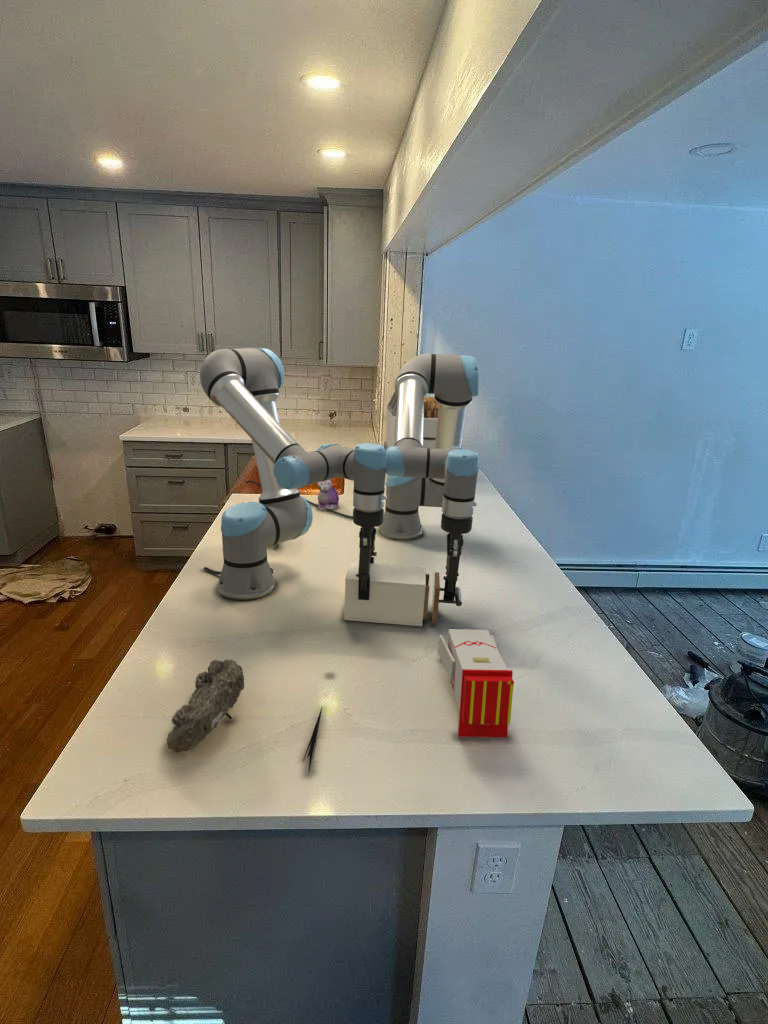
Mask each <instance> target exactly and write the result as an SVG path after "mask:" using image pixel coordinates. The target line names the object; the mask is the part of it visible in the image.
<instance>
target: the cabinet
mask: <svg viewBox="0 0 768 1024" xmlns="http://www.w3.org/2000/svg"><path fill="white" fill-rule="evenodd" d="M358 572H359V561H350V563H349V566H348V570H347V572H346V575H345V580H344V582H345V583H344V584H345V585H344V613H343V615H344V616H343V617H344V618H343V619H344V621H351V622H353V621H354V622H366V623H377V624H390V625H402V626H413V627H423V622H424V619H423V611H424V599H425V587H426V574H427V567H426V566H415V565H401V564H391V563H390V564H388V563H378V562H377V563H376V562H374V563H370V572H369V574H370V592H369V600H358V586H359V578H358V577H356V574H358Z"/></svg>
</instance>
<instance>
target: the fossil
mask: <svg viewBox="0 0 768 1024" xmlns="http://www.w3.org/2000/svg"><path fill="white" fill-rule="evenodd" d="M243 670H244V669H243V667H242V665H240V664H237V662H236V661H235V660H234V659H232V658H231V659H227V658H226V659H224V660H223V661H222V660H217V659H212V660H211V661H210V663H209V665H208V666H207V671H201V672H199V673H198V674H197V675H196V676H195V680H194V684H195V685H194V687H195V689H194V690H193V693H192V694H191V697H190V698H189V700H188V704H184V705H182V706H181V707H180V709H177V710H176V711H175V713H174V715H173V716H172V718H171V723H172V724H173V727H172V730H171V731H170V732H168V734H167V738H166V741H167V742H166V745H167V749H168V750H169V751H173V752H174V753H176V754H178V753H182V752H188V751H189V752H192V751H193V750H195V748H196V747H197V746H199V744H200V743H201V742H203V741H204V740H205V739H206V738H207V737H208V736H209V735H210V734H211V733H212V732H214V730H215V729H217V727H218V726H219V724H220V722H221V721H222V720H223V719H224V718H225V716H226V717H227V719H229V720H233V717H232V715H230V714H229V710H230V709H231V708H234V706H235V704H236V703H237V702H238V699H239V697H240V695H241V693H242V691H243V690H245V689H244V688H245V675H244V671H243Z"/></svg>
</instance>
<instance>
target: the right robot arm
mask: <svg viewBox="0 0 768 1024" xmlns="http://www.w3.org/2000/svg"><path fill="white" fill-rule="evenodd" d="M479 376H480V374H479V363H478V359H477V358H476V357H475V356H472V355H464V354H445V353H421V354H418V355H416V356H414V357H412V358H410V359H408V361H407V362H406V363H405V364H404V365H402V367H400V369H399V371H398V373H397V375H396V377H395V381H394V382H395V383H394V392H396V394H397V396H398V399H397V413H396V428H395V442H394V446H391V447H388V448H387V449H386V463H387V464H386V473H385V475H386V481H385V487H386V488H385V489H386V490H385V496H387V499H385V503H384V508H385V509H384V520H383V524H382V525H380V526H378V533H379V534H380V535H381V536H382V537H385V538H387V539H389V540H395V541H410V540H415V539H418V538H420V537H421V536H422V535H423V529H424V527H423V525H422V524H421V518H420V515H419V507H427V508H429V507H431V508H441V513H442V514H441V516H440V517H441V519H440V528H441V530H442V531H443V532H445V533H446V563H445V575H444V576H443V579H442V580H444V586H443V588H444V591H443V599H442V600H453V601H455V589H456V587H457V582H458V577H460V574H459V573H460V572H459V567H460V560H461V555H462V548H463V546H464V535H466V534H469V533H470V532H471V531H472V528H473V522H474V521H473V520H474V519H473V518H474V517H473V514H474V507H477V505H478V504H477V502H476V501H475V499H476V489H477V484H478V483H477V482H478V474H479V470H480V456H479V454H478V453H477V452H476V451H473V450H470V449H465V448H464V447H463V446H462V447H461V444H462V445H463V443H462V441H463V438H462V436H463V437H464V432H463V428H464V429H465V421H466V420H465V419H466V412H467V406H469V405H470V404H472V402H473V398H474V397H477V396H479V391H480V378H479ZM427 394H429V395H434V396H433V397H434V398H435V400H436V402H437V403H439V406H438V417H437V427H436V438H435V448H434V449H430V448H423V421H424V397H426V396H427ZM248 483H252V484H255V485H258V486H261V482H260V483H259V482H257V481H254V480H250V479H248V480H246V481H245V484H248ZM307 503H309V504H310V505H313V506H314V507H317V508H318V507H319V506H318V503H314V502H312V501H310V500H308V499H307ZM325 511H327V512H329V513H333V514H336V515H339V516H342V517H345V518H349V519H352V520H353V515H352V516H351V515H348V514H345V513H342V512H339V511H335V510H334V509H331V510H330V509H327V508H326V510H325Z"/></svg>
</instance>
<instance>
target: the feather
mask: <svg viewBox="0 0 768 1024" xmlns="http://www.w3.org/2000/svg"><path fill="white" fill-rule="evenodd" d="M329 675H330V676H331V675H332V674H331V673H330V674H329ZM322 710H323V707H321V708H320V710H319V713H318V716H317V719H316V723H315V725H314V728H313V731H312V733H311V737H310V739H309V742H308V745H307V748H306V751H305V754H304V757H303V760H302V763H301V767H302V765H303V763H304V761H305V758H308V759H309V760H308V762H307V763H308V764H307V766H308V771H310V770H311V766H312V765H311V764H312V760H313V757H315V756H314V755H315V751H316V749H315V746H317V739H318V733H319V729H320V722H321V717H322V712H323V711H322ZM313 754H314V755H313ZM306 755H307V757H306Z"/></svg>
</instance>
